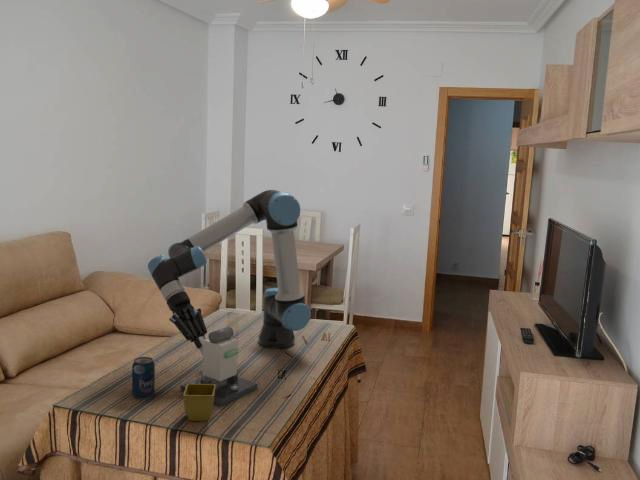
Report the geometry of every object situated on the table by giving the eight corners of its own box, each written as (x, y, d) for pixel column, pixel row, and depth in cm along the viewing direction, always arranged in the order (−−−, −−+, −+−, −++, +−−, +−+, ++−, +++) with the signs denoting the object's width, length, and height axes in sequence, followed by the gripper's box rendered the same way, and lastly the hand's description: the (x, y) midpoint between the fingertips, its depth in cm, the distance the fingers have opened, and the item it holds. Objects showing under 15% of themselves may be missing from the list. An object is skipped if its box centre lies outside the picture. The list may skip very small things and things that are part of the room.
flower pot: (186, 410, 184) (187, 383, 183) (215, 411, 185) (216, 383, 183) (182, 424, 175) (182, 395, 174) (212, 424, 176) (213, 395, 175)
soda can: (142, 401, 189) (142, 365, 187) (127, 396, 192) (127, 360, 190) (159, 394, 194) (159, 359, 192) (144, 389, 198) (144, 354, 196)
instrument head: (200, 382, 198) (201, 330, 195) (221, 373, 206) (222, 323, 203) (221, 390, 193) (223, 337, 190) (242, 381, 201) (244, 329, 198)
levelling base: (180, 391, 198) (180, 375, 197) (218, 375, 213) (218, 360, 212) (220, 406, 188) (220, 390, 187) (257, 389, 203) (258, 373, 202)
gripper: (184, 299, 215) (215, 355, 208) (155, 305, 204) (186, 365, 197) (195, 287, 211) (227, 344, 204) (166, 293, 200) (199, 354, 193)
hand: (207, 354), depth 201 cm, fingers closed
